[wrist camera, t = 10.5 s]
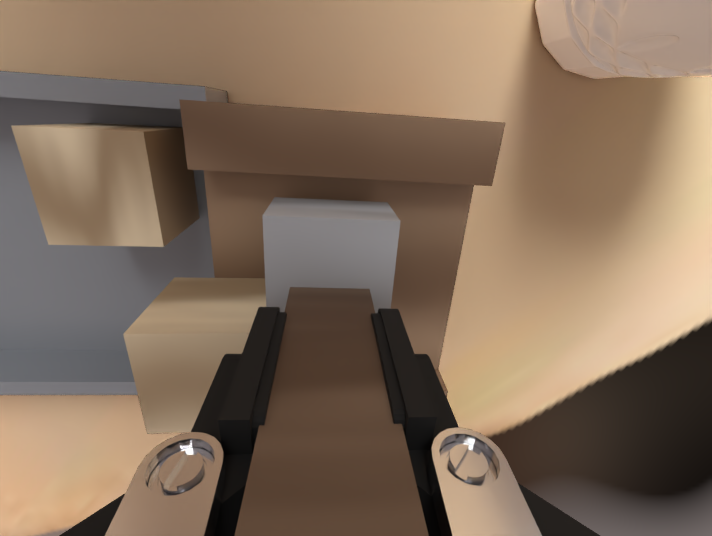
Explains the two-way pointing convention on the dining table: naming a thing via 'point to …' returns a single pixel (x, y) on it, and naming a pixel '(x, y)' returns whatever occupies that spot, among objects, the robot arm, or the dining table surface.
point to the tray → (81, 246)
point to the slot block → (346, 188)
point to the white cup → (628, 37)
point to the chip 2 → (188, 345)
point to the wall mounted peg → (330, 380)
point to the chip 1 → (109, 182)
